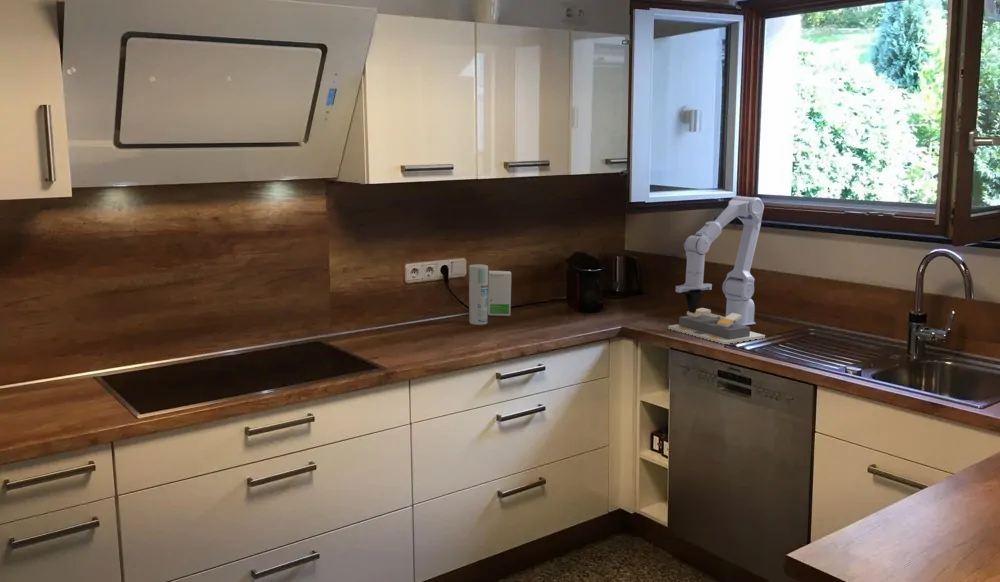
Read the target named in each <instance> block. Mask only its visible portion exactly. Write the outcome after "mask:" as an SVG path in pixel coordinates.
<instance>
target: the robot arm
mask: <svg viewBox="0 0 1000 582" xmlns="http://www.w3.org/2000/svg"><path fill="white" fill-rule="evenodd" d="M764 208H765V205H764V203H763V201H762V199H761V198H760V197H757V196H756V197H753V196H752V197H751V196H741V195H735V196H733V198H731V200H729V201H728V205H727V207H726V208H725V209H724V210H723V211H722V212H721V213H720V214H719V215H718V216H717V218H715V219H714V221H713V220H711V221H706V223H704V226H702V228H700V229H699V230H697V231H696V232H695V234H694V235H690V236H688V237H687V238H686V239H685V242H684V243H683V248H684V250H685V257H686V268H685V269H686V270H685V282H684V283H683V284H681V285H680V284H679V285H675V292H676V293H683V295H684V298H685V299H686V303H687V306H688V311H689V312H692V313H695V312H696V309H698V307H699V303H700V301H701V299H702V298H703V296H704V293H705V292H704V291H707V290H708V291H711V290H713V289H712V287H713V284H712V283H704V275H705V263H706V262H705V259H706V253H708V252H709V250H710V246H711V245H712V243H713V242H714V241H715V240H716V239H718V237H719V236H720V235H722V229H723V228H724V227H726V226H727V225H729V223H730V222H732V221H733V220H734V219H736V218H738V219H739V221H741V223H742V224H743V226H742V227H743V228H742V232H741V236H740V241H739V245H738V250H737V253H736V259H735V263H734V265H733V269H732V270H730V271H729V272H728V273H727V274H726V278H725V280H724V281H723V283H722V292H723V294H724V297H725V298H726V305H725V306H726V307H725V309H726V310H725V317H726V316H728V315H729V314H731V313H735V314H740V315H742V318H741V319H739V320H738V321H736V324H740V325H744V326H750V325H756V324H757V323H756V322H755V311H756V310H755V309H756V308H755V303H754V300H753V299H752V297H753V296H754V293H755V280H756V279H755V278H754V276H753V275H752V274H751V268H752V264H753V259H754V256H755V251H756V247H757V243H758V238H759V235H760V229H761V225H762V219H763V213H764V210H765V209H764Z"/></svg>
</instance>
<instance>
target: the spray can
mask: <svg viewBox="0 0 1000 582" xmlns="http://www.w3.org/2000/svg"><path fill="white" fill-rule="evenodd" d="M488 280H489V266H488V265H487V264H480V263H479V264H477V263H475V264H469V266H468V300H469V301H468V302H469V303H468V311H469V314H468V317H469V319H468V321H469V324H470V325H478V326H480V325H487V324H488Z"/></svg>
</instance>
